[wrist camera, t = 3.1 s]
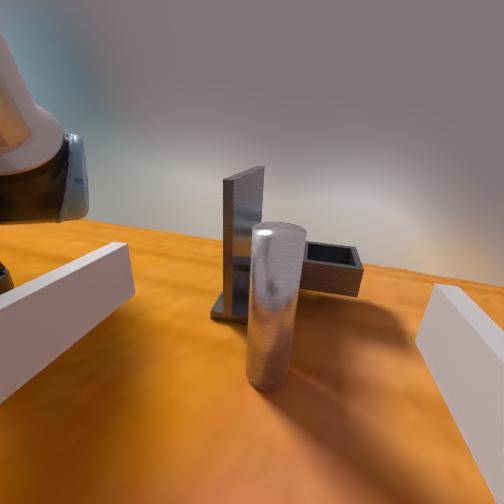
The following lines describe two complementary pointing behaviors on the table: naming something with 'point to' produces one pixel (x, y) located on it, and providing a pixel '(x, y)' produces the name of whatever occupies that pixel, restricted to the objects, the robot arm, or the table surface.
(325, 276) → the cup bracket
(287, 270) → the rail post
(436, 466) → the table surface
